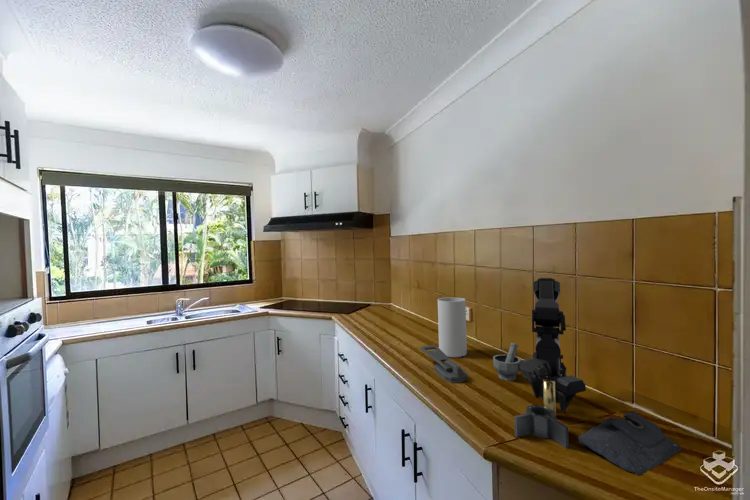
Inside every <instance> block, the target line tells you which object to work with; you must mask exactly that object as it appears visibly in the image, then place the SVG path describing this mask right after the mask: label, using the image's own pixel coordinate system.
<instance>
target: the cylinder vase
mask: <svg viewBox="0 0 750 500" xmlns="http://www.w3.org/2000/svg"><path fill="white" fill-rule="evenodd" d="M466 307H467V306H466V298H462V297H451V296H450V297H438V298H437V318H438V319H437V323H438V324H437V325H438V326H437V328H438V348H439V349H440V350H441V351H442V352H443V353H444V354H445V355H446V356H447V357H448V358H462V356H463V357H465V356H466V355H467V354H468V342H467V340H468V339H467V338H468V337H467V308H466Z"/></svg>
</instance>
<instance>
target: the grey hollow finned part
mask: <svg viewBox="0 0 750 500" xmlns="http://www.w3.org/2000/svg"><path fill="white" fill-rule="evenodd" d="M525 409H526V410H525V413H523V414H518V415H514V417H513V418H514V419H513V420H514V436H515V437H516V438H520V437H523V436H528V435H533V436H535V437H539V438H543V439H552V440H553V441H554V442H556V443H558V444H559V445H561V446H562V447H563V448H565V449H569V448H570V447H569V445H570V443H569V441H570V439H569V426H568V425H566V424H564V423H562V422H561V421H559V420H557V419H556V418H557V414H556V415H555V411H553V410H551V409H550V408H548V407H545V406H544V405H539V404H532V405H528V406H527V405H526V408H525Z"/></svg>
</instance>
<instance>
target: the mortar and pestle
mask: <svg viewBox="0 0 750 500" xmlns="http://www.w3.org/2000/svg"><path fill="white" fill-rule="evenodd" d="M518 347H519V344H517V343H515V342H511V343H510V347H509V350H508V353H507V354H496V355H493V356H492V363H493V368H494V370H495V371H496V372H497V373H498V379H500V380H504V381H506V382H507V381H510V382H512V381H516V380H517V376H516V375H517V374H518V373H519V372H520V371H519V370H518V363H519V361H520V360H521V358H519V357H517V356H516V353H517V349H518Z"/></svg>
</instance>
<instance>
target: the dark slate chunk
mask: <svg viewBox="0 0 750 500" xmlns="http://www.w3.org/2000/svg"><path fill="white" fill-rule="evenodd" d="M577 439H578V442H579V443H580V444H581V445H583V446H584V447H587V448H588V449H589V450H591V451H593V452H595V453H596V454H599V456H602V457H604V458H605V459H606V460H607V461H608V462H610V463H612V464H614V465H616V466H617V467H619V468H620V469H621V470H623V469H624V471H626V470H627V471H626V472H628V471H629V473H630V472H632V474H634V473H635V475H636V474H637V475H636V476H640V475H644V474H643V473H645V474H646V473H647V472H648V471H651V470H652V469H654V468H655V467H658V466H659V465H661V464H663V463H664V462H665V461H667V460H669V459H670V458H671V457H672V458H673V456H674V455H676V454H677V453H680V451H683V449H682V447H681V445H679V444H677V443H675V442H674V441H673V439H669V438H668V437H667V436H666V435H665V434H664V432H663V430H662V429H661V428H660V426H659V425H658V424H656V423H654V422H653V421H651V420H649V419H647V418H645V417H643V416H641V415H640V414H638V413H637V412H634V411H632V410H631V411H629V412H627V413H624V414H623V415H622V417H616V418H614V417H609V418H606V419H604V420H603V421H602V422H600V424H598V425H597V426H594V427H591V428H590V429H589V430H587V431H586V432H584V433H582V434H580V435H579V436H578V438H577Z"/></svg>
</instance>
